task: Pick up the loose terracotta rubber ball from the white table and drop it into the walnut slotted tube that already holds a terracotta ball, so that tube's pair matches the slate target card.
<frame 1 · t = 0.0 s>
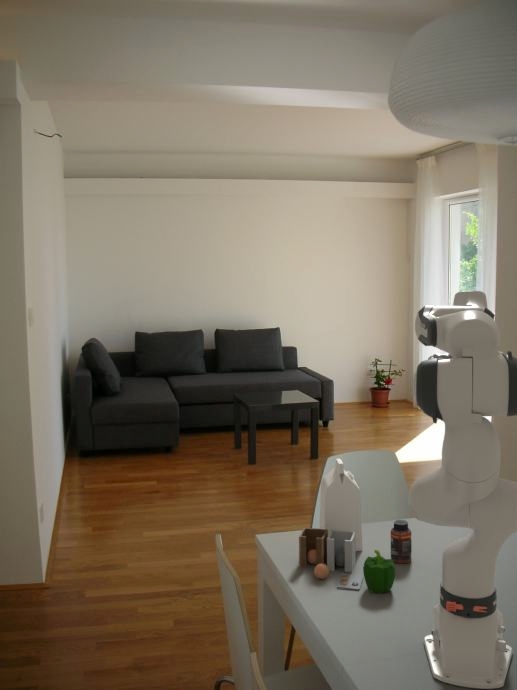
hand: (468, 408, 180), 48 cm above the table, fingers open, 8 cm apart
loose ball: (321, 578, 193), on the table
grey tube: (341, 565, 200), on the table
bell pepper: (379, 590, 186), on the table
tube ball charcoal: (341, 559, 200), in the grey tube
target card: (350, 582, 190), on the table
walnut tube: (313, 563, 203), on the table
tube ball terracotta: (313, 556, 202), in the walnut tube
supplement bottle: (401, 560, 204), on the table
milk: (340, 544, 217), on the table
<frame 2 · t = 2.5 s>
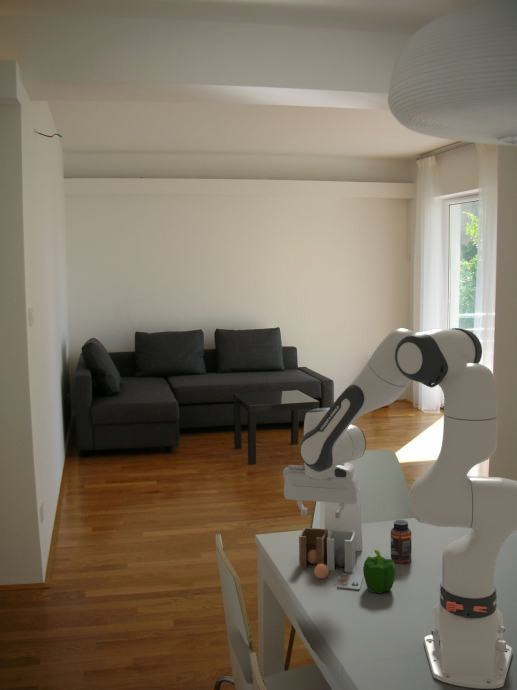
hand: (321, 516, 191), 17 cm above the table, fingers open, 8 cm apart
nothing on the table moved.
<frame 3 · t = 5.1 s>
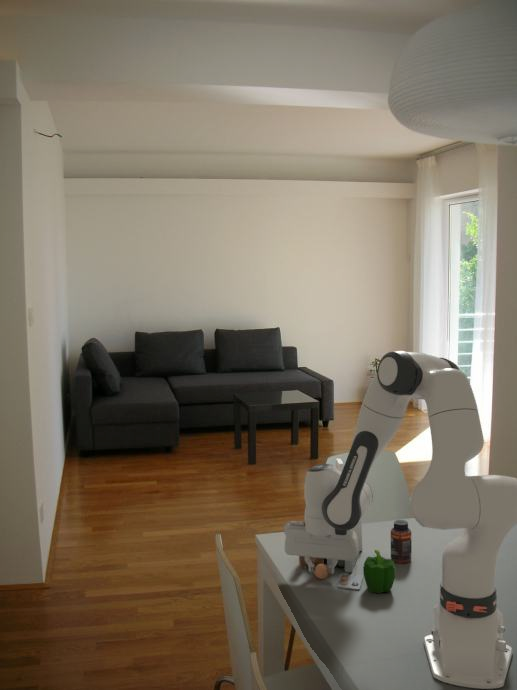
hand: (321, 572, 193), 2 cm above the table, fingers closed on loose ball, 4 cm apart
loose ball: (321, 578, 193), on the table, touching gripper
everything else where it was.
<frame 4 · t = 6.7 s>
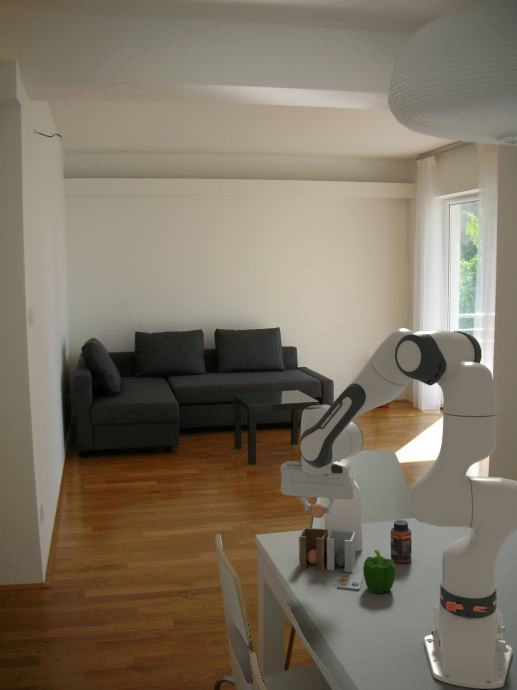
hand: (318, 511, 194), 18 cm above the table, fingers closed on loose ball, 4 cm apart
loose ball: (318, 517, 194), point 16 cm above the table, touching gripper
everything else where it was.
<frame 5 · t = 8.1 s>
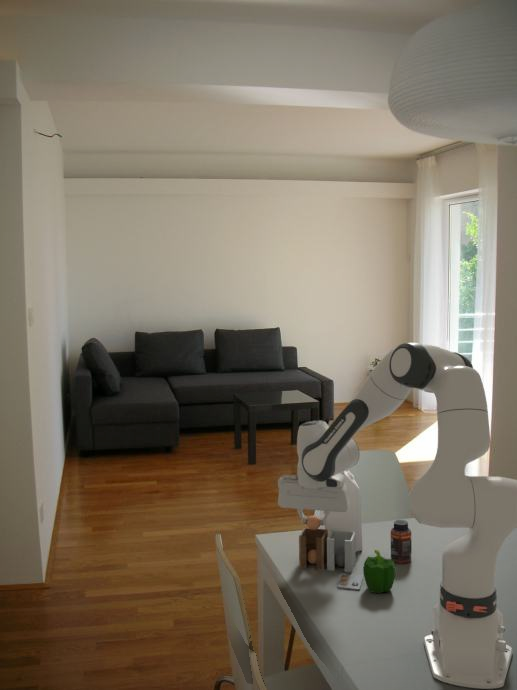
hand: (313, 523, 201), 12 cm above the table, fingers closed on loose ball, 4 cm apart
loose ball: (313, 529, 202), point 10 cm above the table, touching gripper
everything else where it was.
when the fingers open (12 cm above the table, at t = 8.7 s): loose ball drops 5 cm and tips over, resting on tube ball terracotta, walnut tube.
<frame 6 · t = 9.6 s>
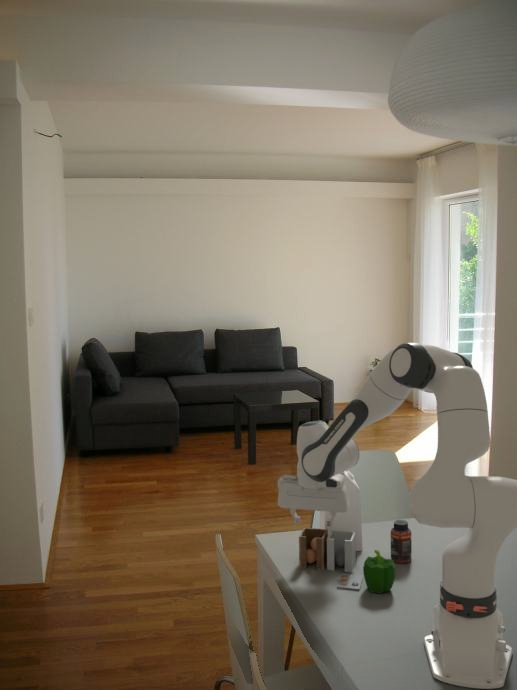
hand: (313, 524, 201), 12 cm above the table, fingers open, 8 cm apart
loose ball: (310, 544, 203), point 5 cm above the table, tilted 89°, touching tube ball terracotta, walnut tube
tube ball terracotta: (310, 556, 203), resting in walnut tube, tilted 29°, touching loose ball
everything else where it was.
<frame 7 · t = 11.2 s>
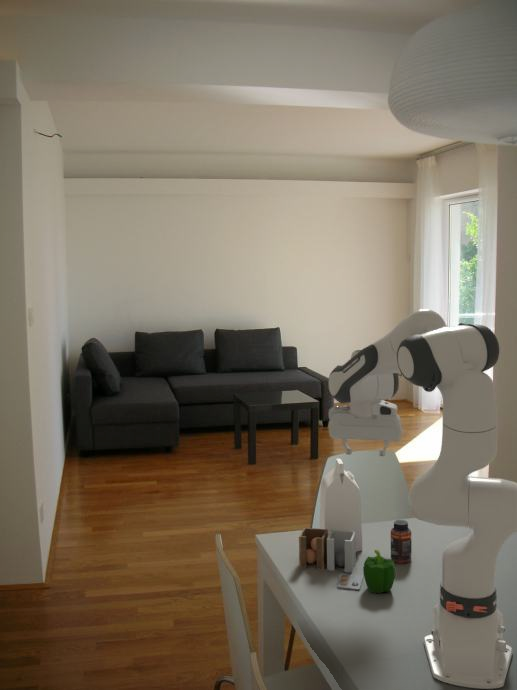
hand: (365, 454, 198), 32 cm above the table, fingers open, 8 cm apart
nothing on the table moved.
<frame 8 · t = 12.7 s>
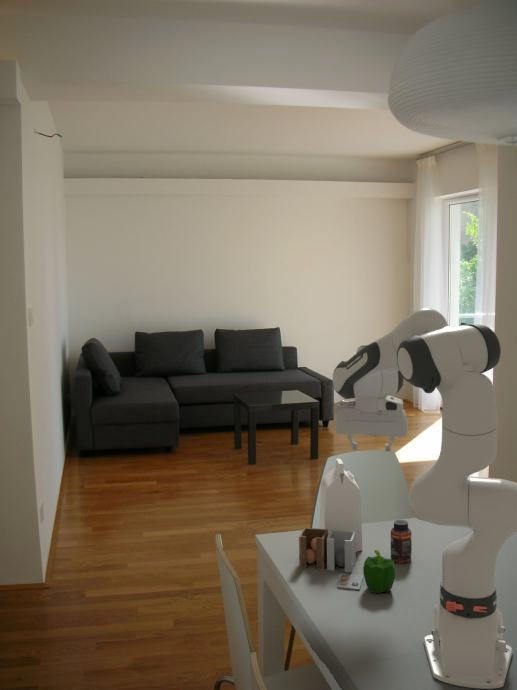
hand: (371, 450, 198), 33 cm above the table, fingers open, 8 cm apart
nothing on the table moved.
at the end: loose ball 1.2 cm off-centre on the walnut tube, point 5.3 cm above the walnut tube's base; the gripper is holding nothing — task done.
